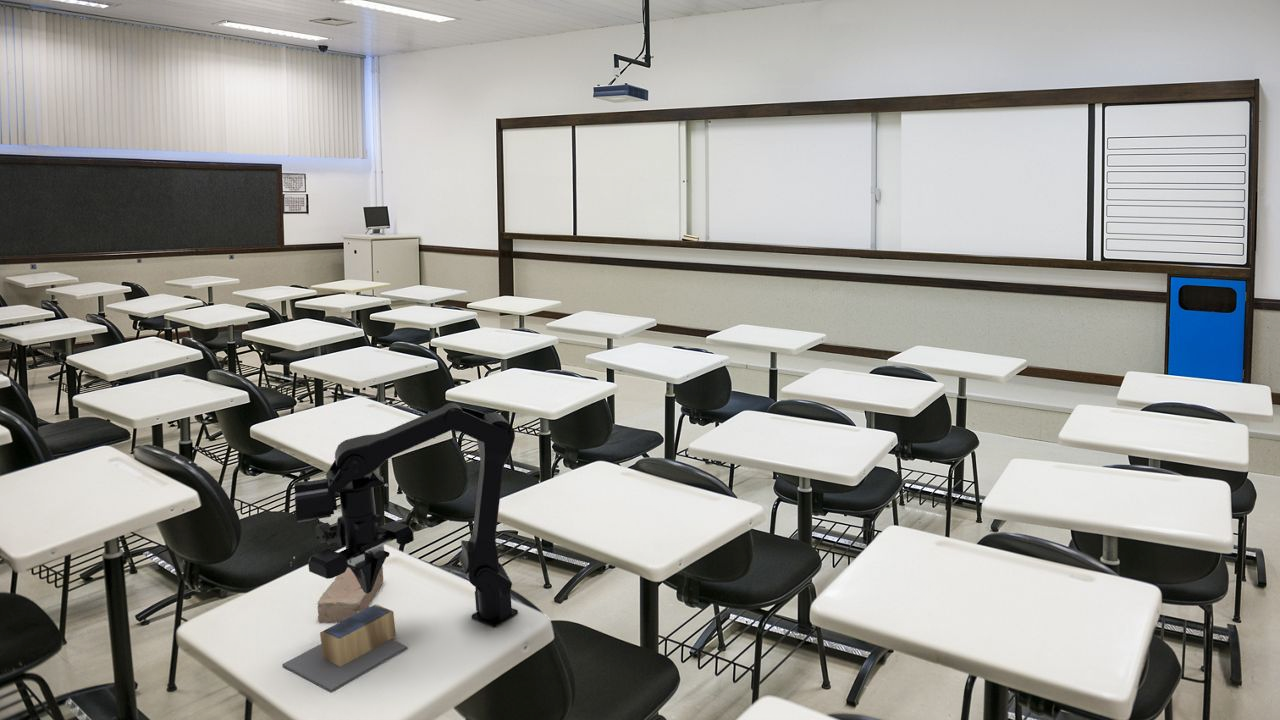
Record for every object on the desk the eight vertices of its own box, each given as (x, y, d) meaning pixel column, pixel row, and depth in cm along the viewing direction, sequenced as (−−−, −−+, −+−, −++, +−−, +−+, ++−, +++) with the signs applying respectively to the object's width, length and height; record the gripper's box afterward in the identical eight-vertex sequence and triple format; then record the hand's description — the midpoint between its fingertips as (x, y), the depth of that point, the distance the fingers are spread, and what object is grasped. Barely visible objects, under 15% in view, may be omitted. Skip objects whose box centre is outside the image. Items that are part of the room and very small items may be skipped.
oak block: (393, 610, 165) (337, 639, 156) (396, 636, 167) (340, 666, 157) (375, 603, 168) (319, 631, 159) (378, 628, 170) (323, 658, 160)
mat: (407, 648, 163) (407, 646, 163) (331, 692, 151) (331, 689, 151) (358, 626, 171) (358, 624, 171) (282, 666, 159) (282, 664, 159)
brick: (360, 623, 173) (357, 601, 172) (316, 624, 173) (313, 601, 172) (385, 583, 189) (383, 562, 188) (345, 584, 190) (343, 563, 188)
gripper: (372, 485, 172) (380, 561, 175) (284, 519, 157) (295, 601, 161) (411, 497, 165) (419, 576, 169) (323, 534, 151) (333, 619, 154)
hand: (367, 592), depth 163 cm, fingers closed
